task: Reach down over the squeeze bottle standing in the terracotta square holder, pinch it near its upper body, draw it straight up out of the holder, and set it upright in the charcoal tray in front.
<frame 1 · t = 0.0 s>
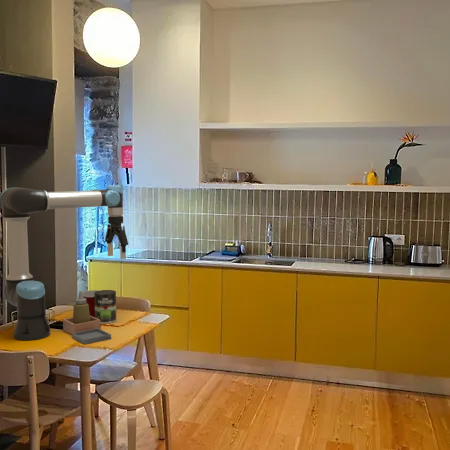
hand: (116, 257, 283), 28 cm above the table, tool pointing down, fingers open, 13 cm apart
squeeze bottle: (81, 330, 252), resting in holder
tray: (91, 338, 240), on the table
plastic cup: (92, 316, 277), on the table
coffee can: (105, 321, 268), on the table
holder: (81, 330, 252), on the table
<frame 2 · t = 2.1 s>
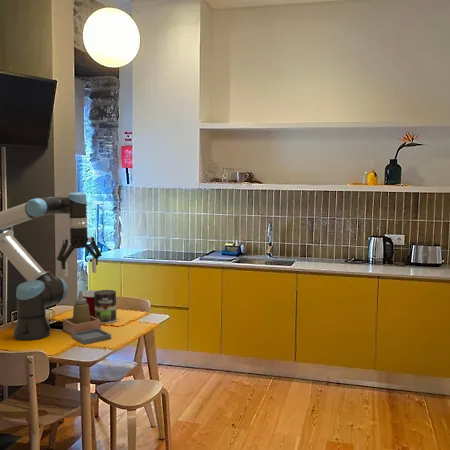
hand: (80, 274, 249), 26 cm above the table, tool pointing down, fingers open, 13 cm apart
nothing on the table moved.
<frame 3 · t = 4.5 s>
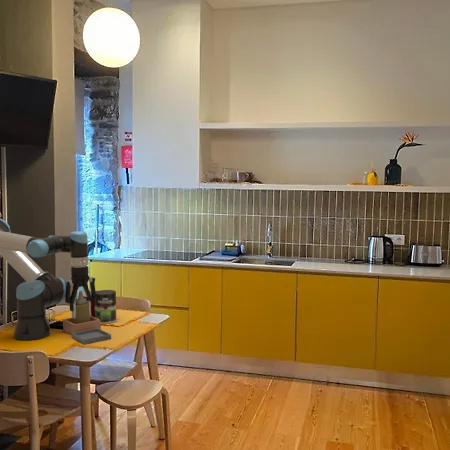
hand: (81, 316, 251), 6 cm above the table, tool pointing down, fingers closed on squeeze bottle, 6 cm apart
squeeze bottle: (81, 330, 252), resting in holder, touching gripper
everything else where it was.
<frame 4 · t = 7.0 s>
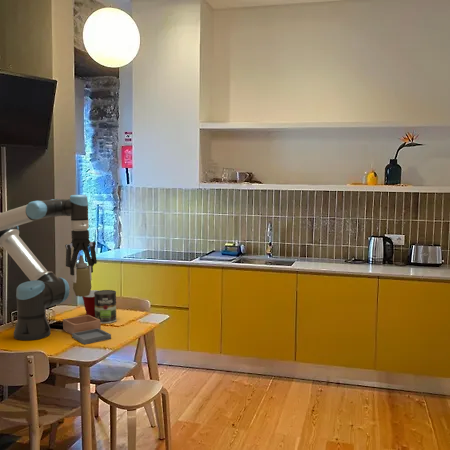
hand: (82, 281, 248), 23 cm above the table, tool pointing down, fingers closed on squeeze bottle, 6 cm apart
squeeze bottle: (82, 295, 248), point 16 cm above the table, touching gripper
everything else where it was.
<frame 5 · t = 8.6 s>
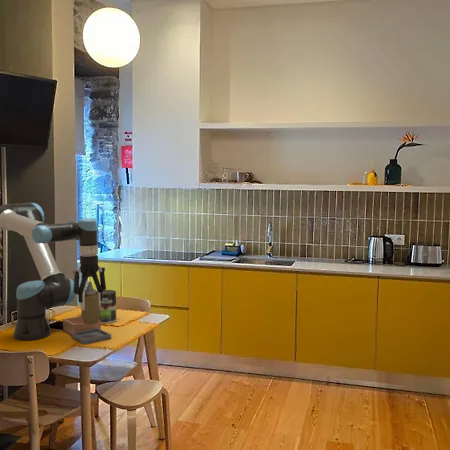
hand: (90, 308, 238), 13 cm above the table, tool pointing down, fingers closed on squeeze bottle, 6 cm apart
squeeze bottle: (91, 323, 239), point 7 cm above the table, touching gripper
everything else where it was.
when the fingers open (9 cm above the table, at t = 9.9 s): squeeze bottle drops 1 cm, resting on tray.
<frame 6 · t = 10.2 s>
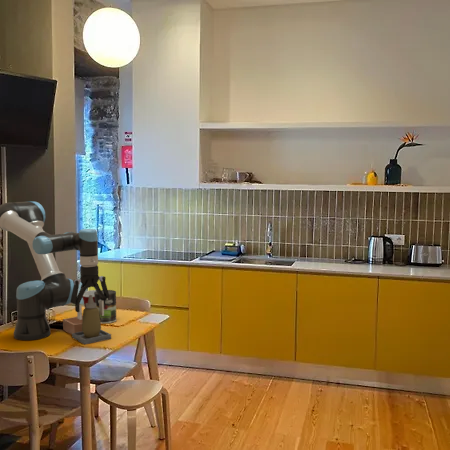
hand: (90, 316, 239), 9 cm above the table, tool pointing down, fingers open, 9 cm apart
squeeze bottle: (91, 336, 240), point 1 cm above the table, touching tray
everything else where it was.
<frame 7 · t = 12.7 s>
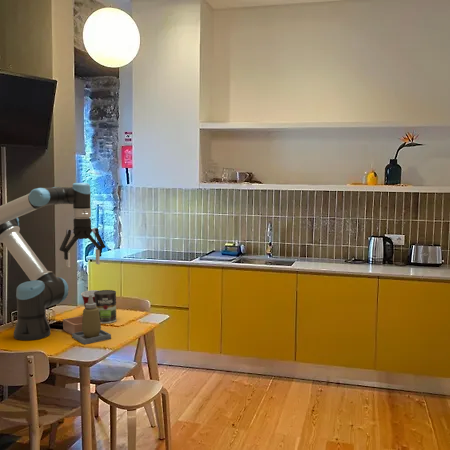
hand: (83, 265, 248), 30 cm above the table, tool pointing down, fingers open, 13 cm apart
nothing on the table moved.
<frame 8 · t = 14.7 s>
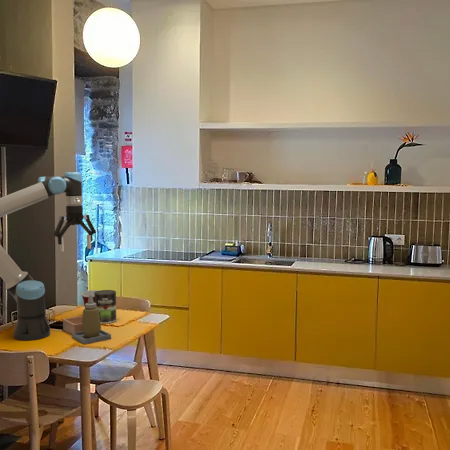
hand: (75, 250, 263), 35 cm above the table, tool pointing down, fingers open, 13 cm apart
nothing on the table moved.
at the end: squeeze bottle 0.1 cm off-centre on the tray, point 0.6 cm above the tray's base; squeeze bottle tilted 0°; the gripper is holding nothing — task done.
